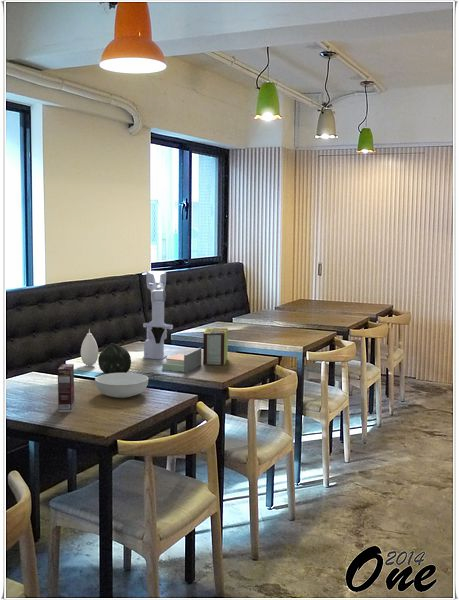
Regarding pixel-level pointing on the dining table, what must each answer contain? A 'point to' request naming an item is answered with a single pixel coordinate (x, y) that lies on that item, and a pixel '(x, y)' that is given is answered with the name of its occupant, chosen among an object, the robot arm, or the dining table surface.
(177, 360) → the carton
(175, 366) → the grey printed box
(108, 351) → the squash
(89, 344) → the white teardrop bulb
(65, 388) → the supplement box
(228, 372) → the dining table surface
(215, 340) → the protein box
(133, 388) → the serving bowl
